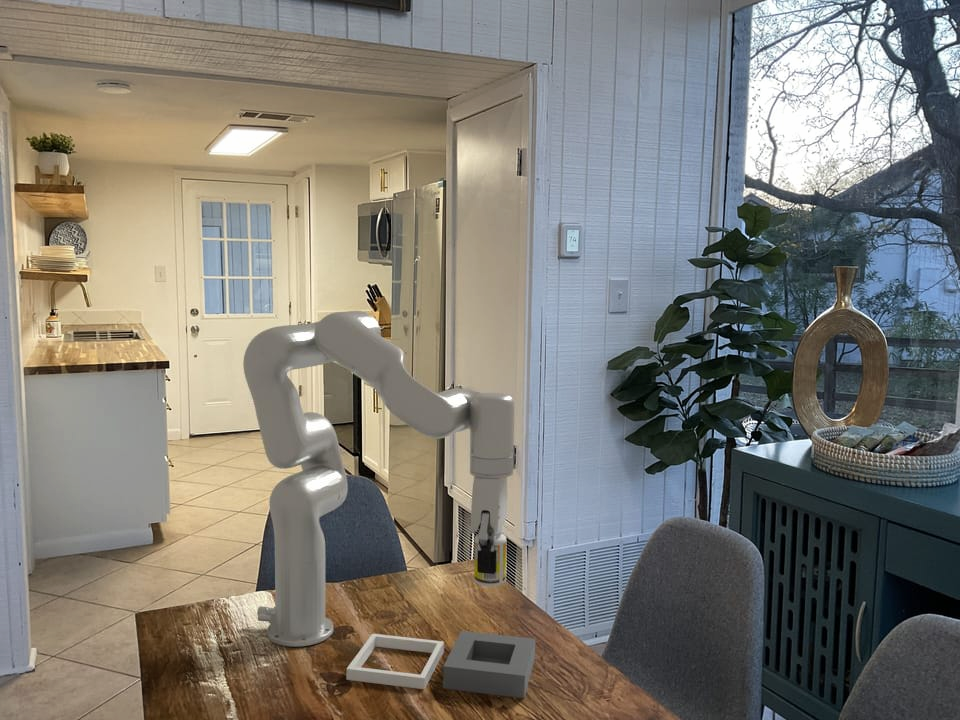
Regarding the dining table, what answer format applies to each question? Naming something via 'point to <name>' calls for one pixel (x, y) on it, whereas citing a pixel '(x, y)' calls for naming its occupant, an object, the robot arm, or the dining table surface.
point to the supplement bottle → (500, 573)
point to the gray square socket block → (490, 664)
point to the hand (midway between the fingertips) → (490, 565)
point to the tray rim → (392, 677)
